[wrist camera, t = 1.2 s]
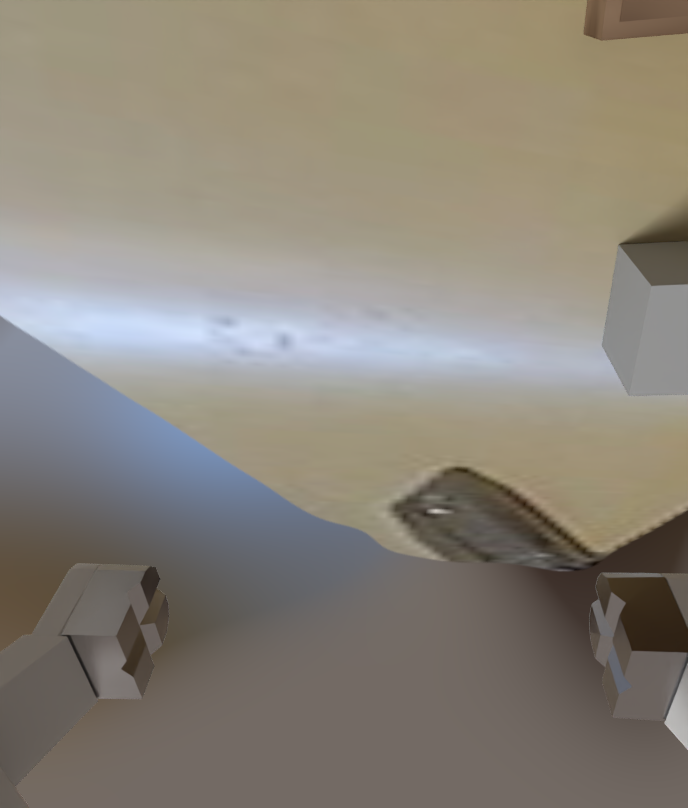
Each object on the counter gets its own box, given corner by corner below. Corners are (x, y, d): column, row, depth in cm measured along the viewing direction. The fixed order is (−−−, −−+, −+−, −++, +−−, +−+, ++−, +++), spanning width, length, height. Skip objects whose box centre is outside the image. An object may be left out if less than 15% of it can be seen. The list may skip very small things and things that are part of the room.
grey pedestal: (618, 244, 44) (651, 285, 38) (740, 238, 43) (793, 279, 37) (601, 345, 48) (628, 396, 43) (712, 341, 48) (754, 392, 42)
